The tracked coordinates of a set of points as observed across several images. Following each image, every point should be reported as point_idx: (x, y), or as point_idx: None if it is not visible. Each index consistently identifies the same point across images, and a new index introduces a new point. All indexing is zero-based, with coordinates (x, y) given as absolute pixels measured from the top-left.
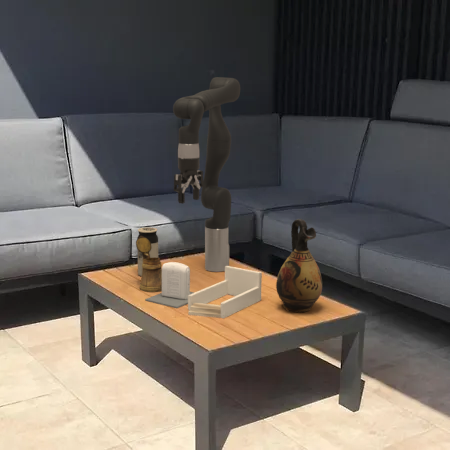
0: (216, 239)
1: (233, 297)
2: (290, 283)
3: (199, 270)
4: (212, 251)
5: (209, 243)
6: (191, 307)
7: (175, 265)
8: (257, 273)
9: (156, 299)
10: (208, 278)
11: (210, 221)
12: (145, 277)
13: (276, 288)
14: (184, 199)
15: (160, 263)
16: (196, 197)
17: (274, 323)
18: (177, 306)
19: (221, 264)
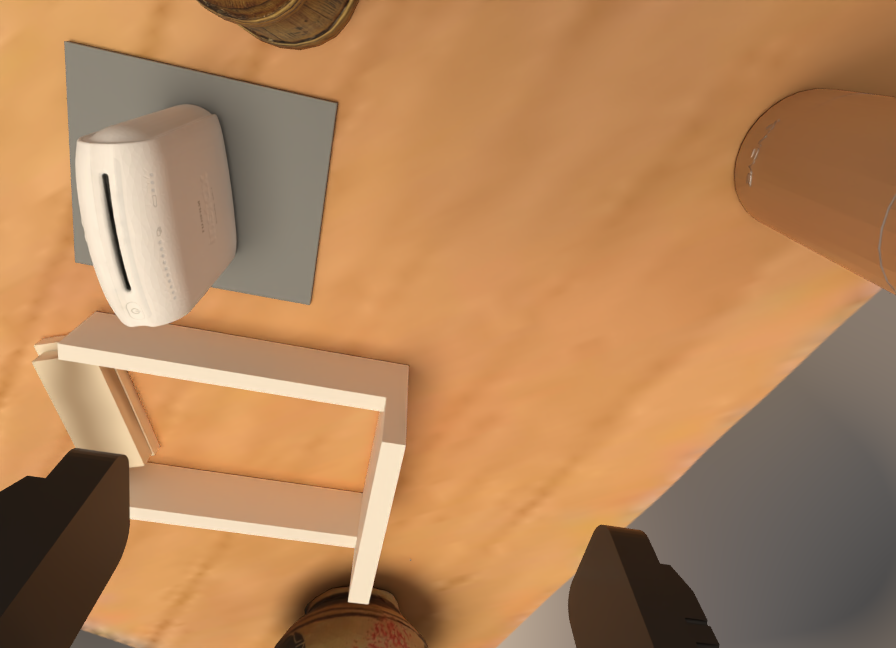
0: (865, 247)
1: (167, 513)
2: None
3: (752, 74)
4: (807, 192)
5: (854, 179)
6: (35, 365)
7: (91, 256)
8: (349, 593)
9: (101, 108)
10: (602, 195)
11: None
12: None
13: (302, 636)
14: (82, 615)
15: (258, 18)
16: (588, 615)
17: (169, 604)
18: (81, 260)
19: (768, 223)
